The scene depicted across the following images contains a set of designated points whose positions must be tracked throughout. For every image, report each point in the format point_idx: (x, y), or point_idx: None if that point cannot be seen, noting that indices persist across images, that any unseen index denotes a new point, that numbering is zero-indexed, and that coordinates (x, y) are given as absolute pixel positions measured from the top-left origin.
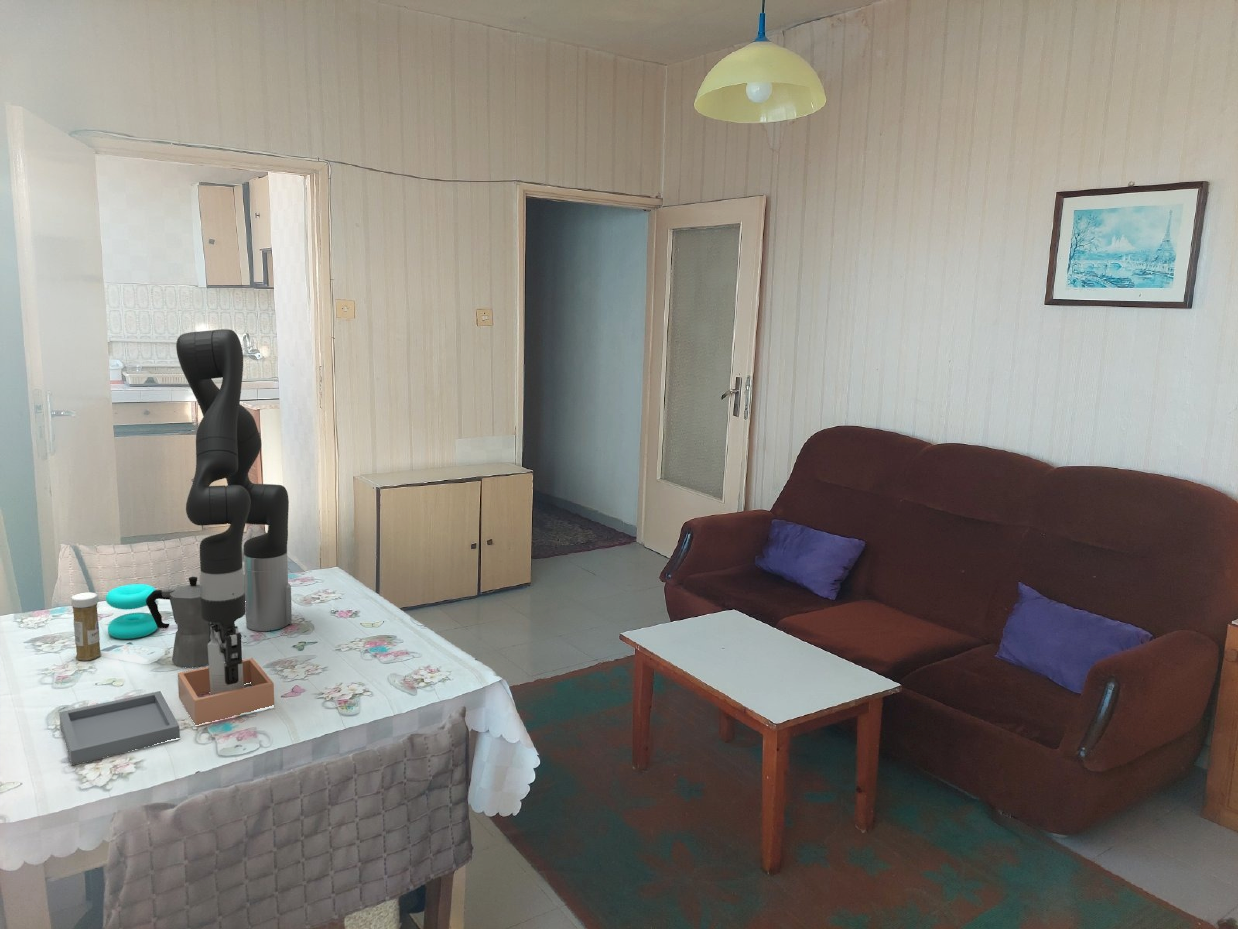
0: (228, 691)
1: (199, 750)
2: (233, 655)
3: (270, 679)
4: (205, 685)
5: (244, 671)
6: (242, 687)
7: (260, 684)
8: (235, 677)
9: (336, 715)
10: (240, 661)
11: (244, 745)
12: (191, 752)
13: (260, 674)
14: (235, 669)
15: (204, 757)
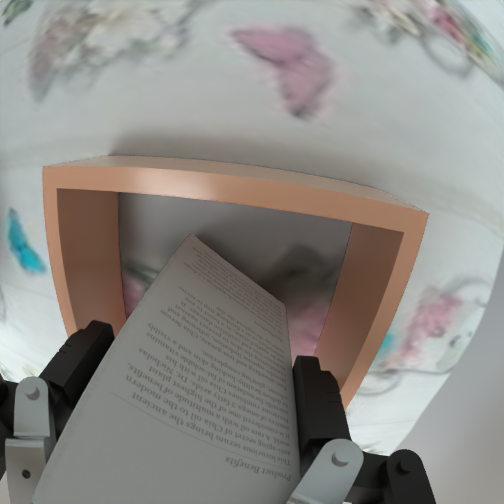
0: (344, 385)
1: (405, 394)
2: (270, 477)
3: (379, 202)
4: (112, 322)
5: (87, 202)
6: (201, 249)
7: (395, 272)
8: (336, 393)
9: (501, 96)
10: (418, 468)
11: (462, 331)
12: (399, 403)
13: (256, 205)
14: (346, 429)
15: (430, 390)
